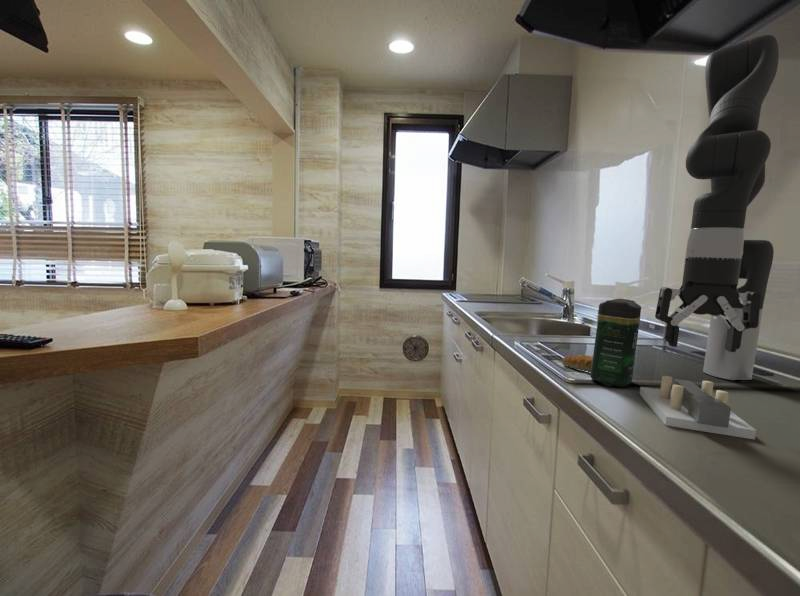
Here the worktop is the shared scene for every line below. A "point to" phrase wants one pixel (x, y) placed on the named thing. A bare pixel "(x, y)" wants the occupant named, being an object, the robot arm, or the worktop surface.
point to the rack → (677, 415)
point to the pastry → (579, 362)
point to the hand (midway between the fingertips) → (700, 348)
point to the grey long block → (703, 405)
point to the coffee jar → (616, 342)
